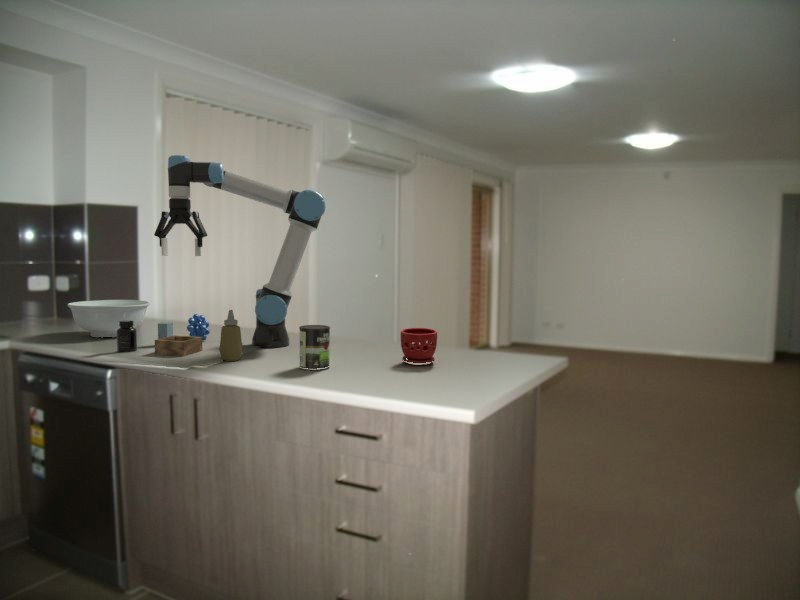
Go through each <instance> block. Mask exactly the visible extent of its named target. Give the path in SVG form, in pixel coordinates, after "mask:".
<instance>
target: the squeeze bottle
mask: <svg viewBox="0 0 800 600" xmlns="http://www.w3.org/2000/svg"><path fill="white" fill-rule="evenodd" d="M227 314H228V315H227V317H226V318H227V319H224V320H223V322H224V323H223V326H222V327H221V329H220V330H221V331H220V340H219V341H220V342H219V353H220V356H221V359H222V360H223V361H225V362H234V361H235V362H237V361H239V360H240V359H241V356H242V353H243V342H242V333H241V332H242V331H241V327H240V326H239V325H238V319H235V315H234V311H233V309H229V310H228V313H227Z"/></svg>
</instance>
